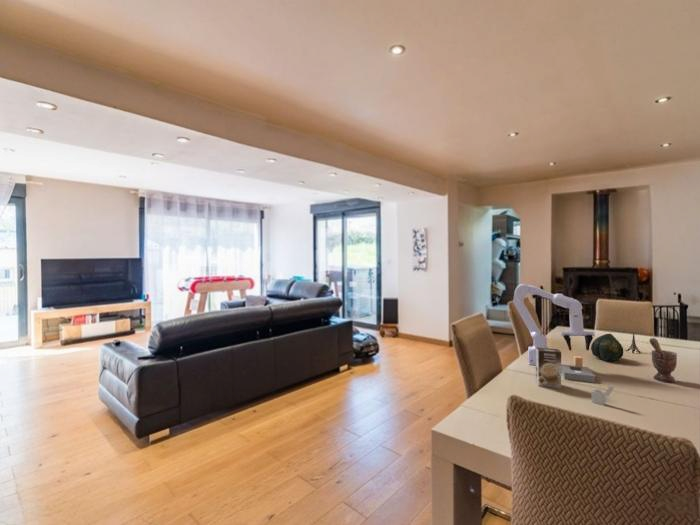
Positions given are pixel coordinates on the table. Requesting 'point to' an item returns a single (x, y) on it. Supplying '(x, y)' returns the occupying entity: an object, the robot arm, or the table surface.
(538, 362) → the coffee box
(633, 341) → the eiffel tower figurine
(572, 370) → the grey flat block
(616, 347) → the squash
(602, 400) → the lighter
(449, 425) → the table surface
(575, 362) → the plug
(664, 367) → the mortar and pestle
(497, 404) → the table surface
